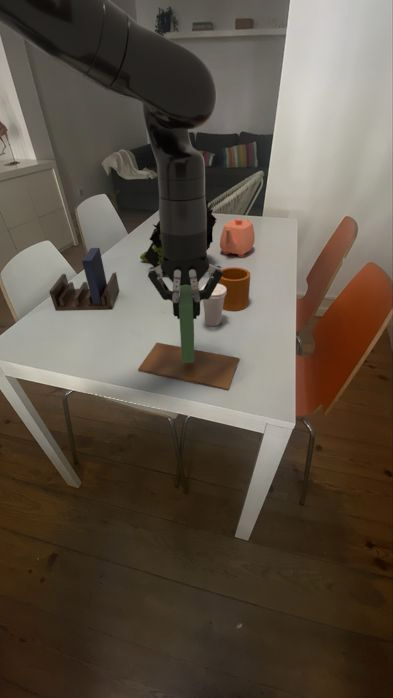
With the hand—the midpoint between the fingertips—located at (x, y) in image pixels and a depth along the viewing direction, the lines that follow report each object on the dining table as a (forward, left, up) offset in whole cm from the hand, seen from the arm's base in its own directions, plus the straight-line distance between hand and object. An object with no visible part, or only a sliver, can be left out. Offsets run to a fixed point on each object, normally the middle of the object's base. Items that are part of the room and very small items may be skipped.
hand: (187, 316), depth 62 cm
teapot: (+17, +65, -13) cm, 68 cm away
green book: (0, 0, -8) cm, 8 cm away
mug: (+13, +28, -13) cm, 33 cm away
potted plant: (-5, +53, -13) cm, 55 cm away
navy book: (-26, +30, -12) cm, 42 cm away
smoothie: (+6, +17, -13) cm, 22 cm away
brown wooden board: (0, 0, -13) cm, 13 cm away
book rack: (-30, +30, -13) cm, 44 cm away
